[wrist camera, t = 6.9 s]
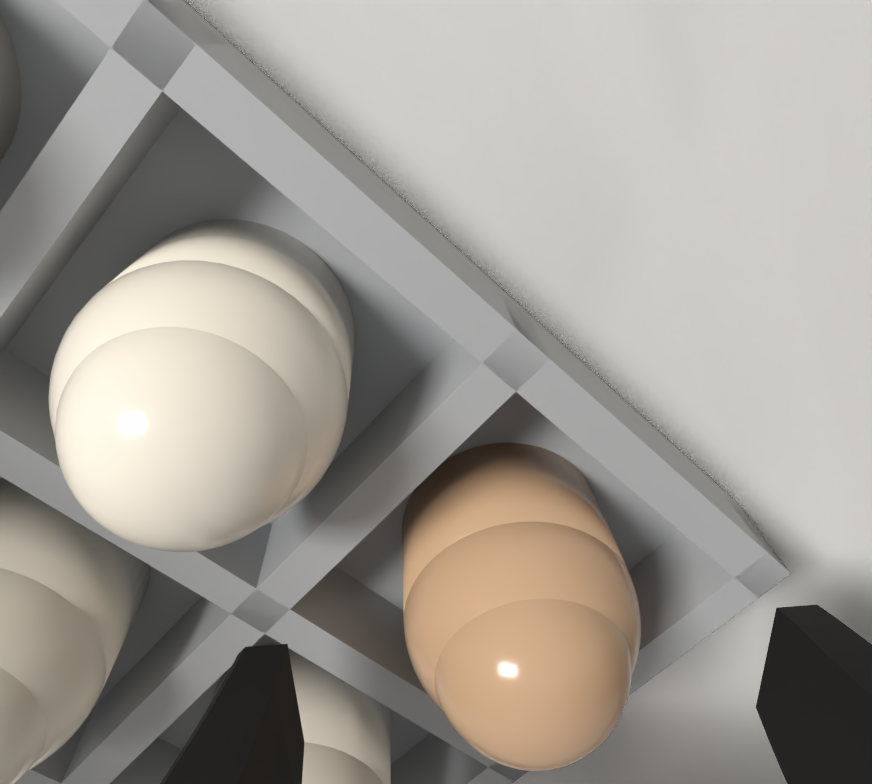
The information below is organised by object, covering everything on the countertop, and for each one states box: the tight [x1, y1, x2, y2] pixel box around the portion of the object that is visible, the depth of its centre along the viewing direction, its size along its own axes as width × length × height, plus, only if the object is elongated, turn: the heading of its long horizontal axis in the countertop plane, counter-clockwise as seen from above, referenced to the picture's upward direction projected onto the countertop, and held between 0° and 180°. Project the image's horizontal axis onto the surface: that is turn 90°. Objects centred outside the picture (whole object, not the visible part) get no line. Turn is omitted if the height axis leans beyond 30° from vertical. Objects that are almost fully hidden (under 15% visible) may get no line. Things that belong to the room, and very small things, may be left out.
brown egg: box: [402, 443, 641, 771], centre depth 12 cm, size 4×4×5 cm
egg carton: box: [0, 0, 791, 784], centre depth 12 cm, size 13×19×2 cm
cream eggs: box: [0, 14, 391, 784], centre depth 11 cm, size 10×16×5 cm, turn 47°
